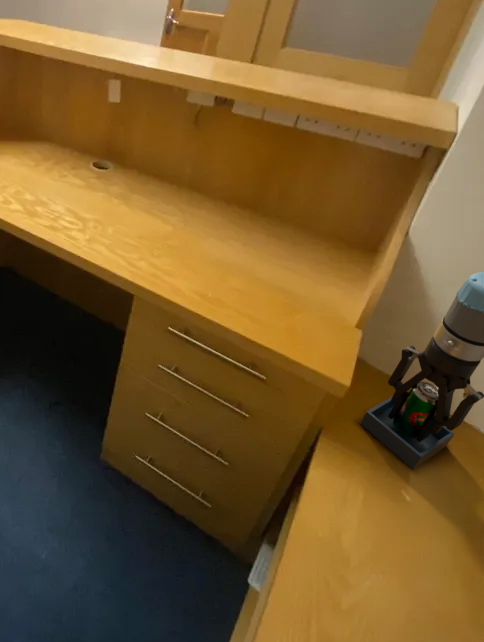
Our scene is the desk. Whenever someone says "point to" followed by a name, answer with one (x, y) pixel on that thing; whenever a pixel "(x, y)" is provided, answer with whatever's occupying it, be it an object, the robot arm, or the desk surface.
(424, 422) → the soda can
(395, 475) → the desk surface
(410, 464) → the tub
